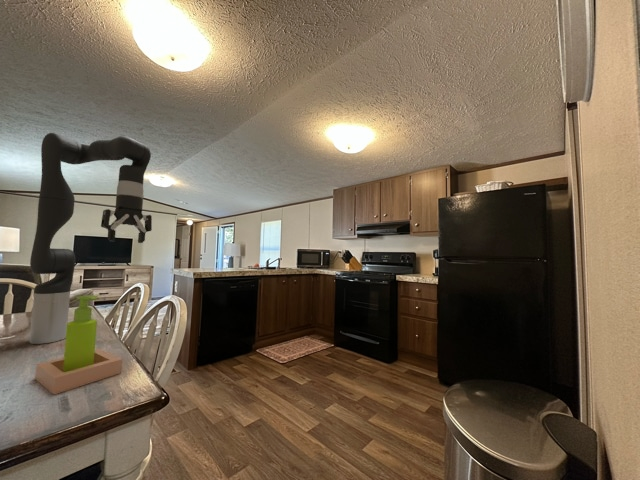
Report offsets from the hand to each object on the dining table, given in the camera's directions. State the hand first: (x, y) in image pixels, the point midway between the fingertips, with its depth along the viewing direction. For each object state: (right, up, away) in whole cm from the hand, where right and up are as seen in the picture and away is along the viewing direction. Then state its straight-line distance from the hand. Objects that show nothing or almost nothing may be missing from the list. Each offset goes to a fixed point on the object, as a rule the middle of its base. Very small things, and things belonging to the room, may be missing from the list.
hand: (126, 242), depth 89 cm
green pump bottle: (+4, -34, -21) cm, 41 cm away
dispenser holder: (+4, -35, -22) cm, 41 cm away
